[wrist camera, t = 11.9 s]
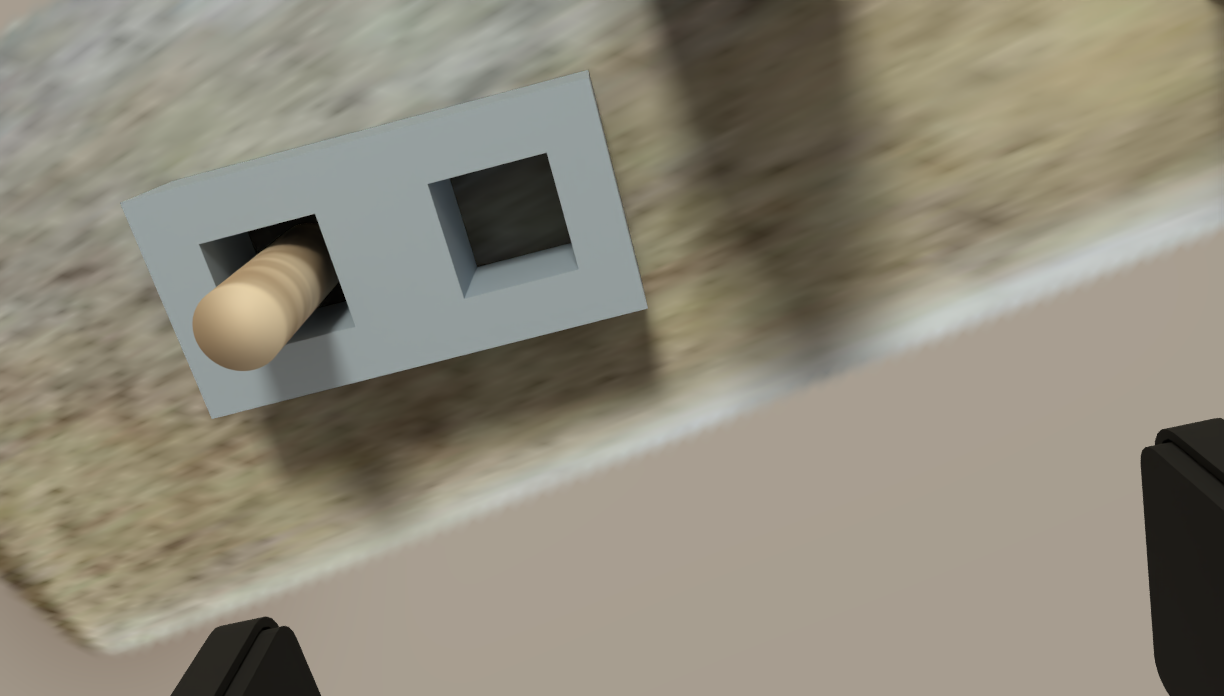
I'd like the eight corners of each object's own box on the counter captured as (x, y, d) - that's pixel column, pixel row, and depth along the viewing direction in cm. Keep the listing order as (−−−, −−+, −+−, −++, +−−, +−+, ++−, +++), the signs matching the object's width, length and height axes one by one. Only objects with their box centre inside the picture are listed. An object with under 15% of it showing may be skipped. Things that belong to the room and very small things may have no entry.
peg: (334, 214, 42) (263, 276, 32) (357, 280, 43) (296, 358, 33) (267, 232, 42) (178, 299, 32) (292, 297, 43) (212, 380, 33)
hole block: (588, 69, 40) (589, 77, 35) (640, 275, 43) (647, 308, 38) (173, 180, 41) (120, 202, 36) (251, 374, 44) (211, 418, 39)
